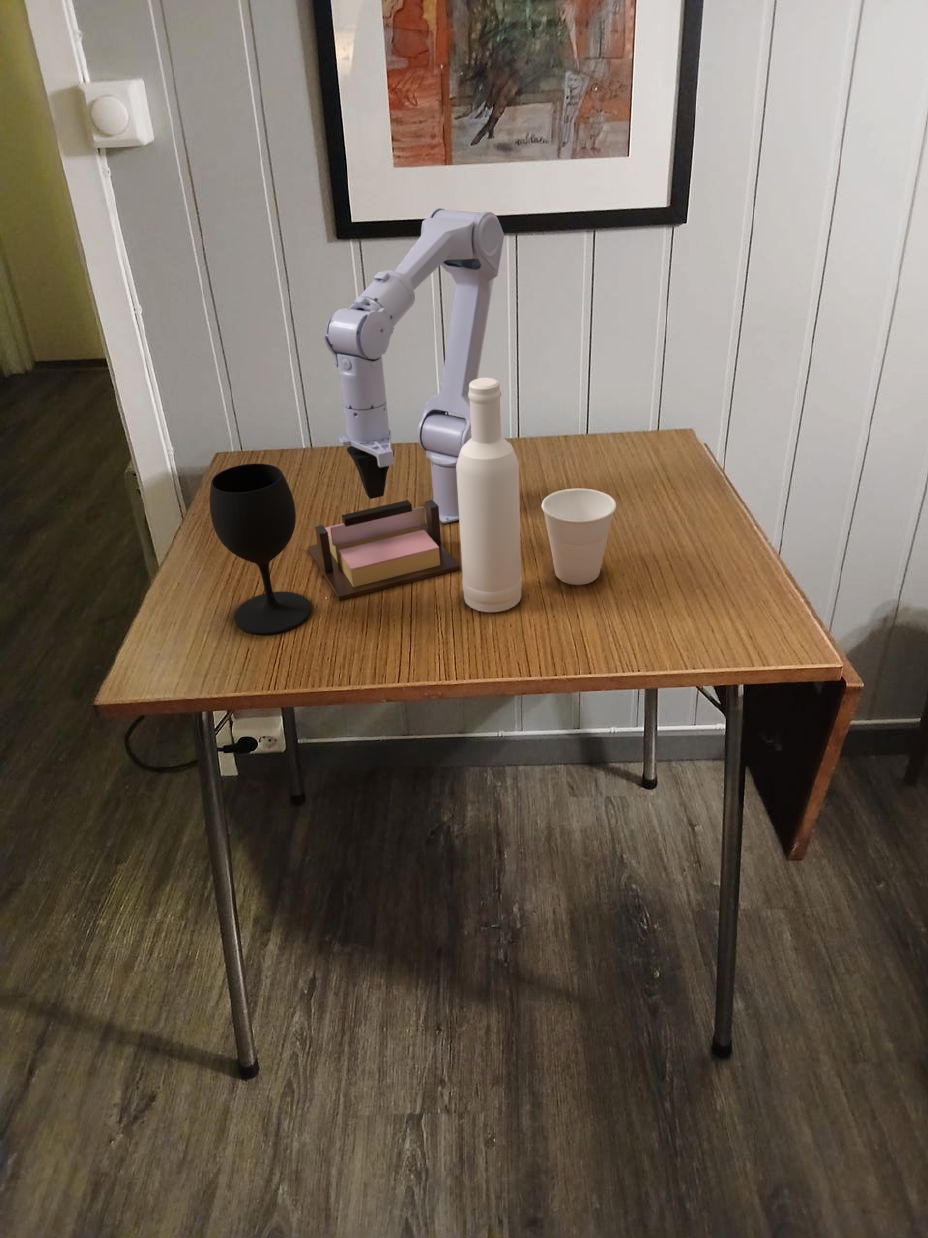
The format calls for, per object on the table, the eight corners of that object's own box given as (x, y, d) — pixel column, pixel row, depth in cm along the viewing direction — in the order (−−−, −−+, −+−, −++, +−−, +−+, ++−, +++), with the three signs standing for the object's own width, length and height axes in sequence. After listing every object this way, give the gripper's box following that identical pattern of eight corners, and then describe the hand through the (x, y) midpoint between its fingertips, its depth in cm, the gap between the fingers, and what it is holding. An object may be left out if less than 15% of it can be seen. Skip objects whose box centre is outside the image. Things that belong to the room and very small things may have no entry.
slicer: (420, 524, 145) (416, 481, 141) (460, 569, 133) (457, 525, 129) (308, 550, 140) (301, 507, 136) (339, 601, 127) (332, 555, 123)
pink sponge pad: (407, 526, 143) (405, 508, 141) (440, 565, 132) (439, 547, 131) (326, 545, 139) (323, 527, 137) (353, 587, 128) (350, 568, 127)
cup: (566, 601, 124) (567, 528, 118) (528, 569, 132) (527, 499, 126) (627, 580, 128) (631, 508, 122) (586, 550, 135) (588, 481, 129)
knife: (422, 521, 137) (420, 496, 134) (426, 525, 135) (424, 500, 133) (331, 543, 132) (327, 517, 130) (334, 547, 131) (330, 522, 129)
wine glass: (276, 643, 119) (248, 502, 108) (217, 622, 124) (185, 486, 113) (327, 605, 126) (306, 469, 116) (270, 587, 131) (244, 455, 120)
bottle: (527, 609, 123) (524, 389, 107) (469, 617, 122) (456, 396, 106) (514, 579, 130) (509, 368, 113) (459, 586, 129) (446, 374, 112)
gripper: (320, 391, 127) (333, 482, 135) (352, 425, 116) (364, 522, 124) (369, 382, 130) (379, 472, 137) (405, 415, 118) (413, 511, 126)
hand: (375, 495), depth 130 cm, fingers closed
